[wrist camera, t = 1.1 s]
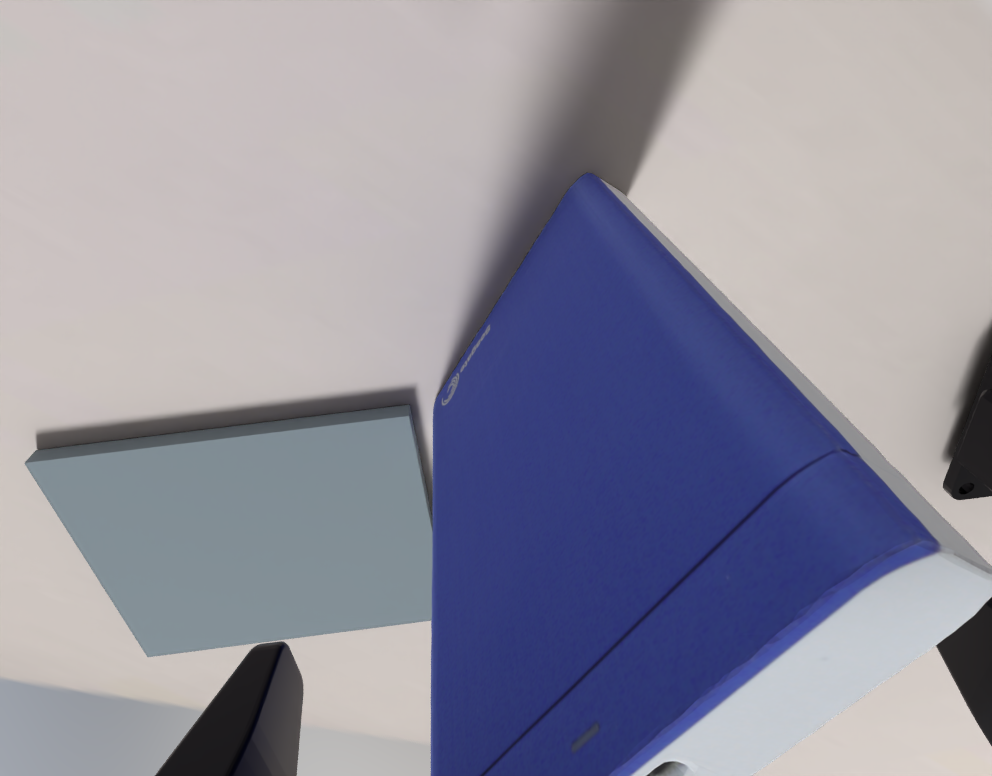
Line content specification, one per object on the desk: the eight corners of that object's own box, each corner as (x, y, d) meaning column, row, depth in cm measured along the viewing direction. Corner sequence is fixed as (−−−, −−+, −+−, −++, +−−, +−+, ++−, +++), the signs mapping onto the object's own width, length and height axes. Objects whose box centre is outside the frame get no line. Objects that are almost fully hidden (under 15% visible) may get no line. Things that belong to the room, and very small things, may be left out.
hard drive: (426, 411, 19) (411, 941, 8) (581, 165, 15) (907, 525, 5) (472, 430, 19) (513, 953, 9) (631, 197, 16) (1027, 586, 5)
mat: (409, 404, 18) (408, 416, 18) (449, 604, 23) (449, 618, 23) (35, 450, 18) (24, 463, 18) (154, 642, 23) (147, 657, 22)
